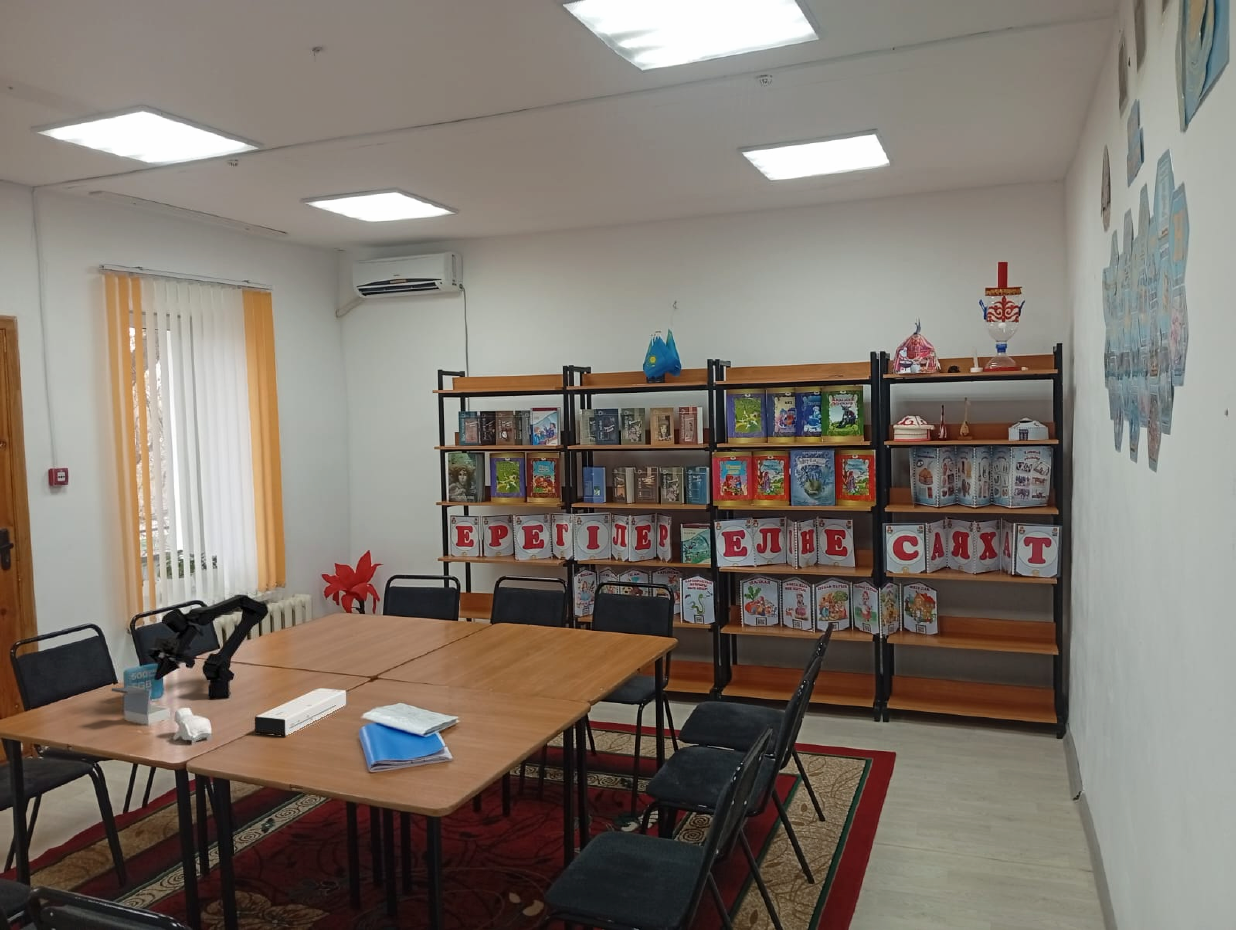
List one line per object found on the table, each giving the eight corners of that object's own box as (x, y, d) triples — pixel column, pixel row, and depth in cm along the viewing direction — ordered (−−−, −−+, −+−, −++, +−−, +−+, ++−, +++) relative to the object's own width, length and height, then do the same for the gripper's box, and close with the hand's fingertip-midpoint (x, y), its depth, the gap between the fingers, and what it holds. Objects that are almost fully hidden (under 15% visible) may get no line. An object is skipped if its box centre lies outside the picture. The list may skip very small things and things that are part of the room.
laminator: (284, 739, 286) (284, 719, 286) (251, 735, 290) (251, 716, 289) (346, 707, 319) (346, 690, 318) (316, 704, 322) (316, 687, 322)
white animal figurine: (212, 747, 287) (190, 721, 295) (217, 724, 284) (194, 699, 293) (186, 755, 280) (163, 728, 288) (190, 731, 278) (167, 705, 286)
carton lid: (127, 685, 305) (107, 687, 299) (151, 690, 300) (131, 692, 293) (124, 710, 304) (104, 712, 298) (148, 714, 299) (128, 717, 293)
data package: (129, 704, 322) (128, 671, 322) (123, 702, 325) (123, 669, 324) (163, 697, 331) (163, 664, 331) (158, 694, 334) (157, 662, 334)
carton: (146, 713, 311) (146, 703, 311) (170, 718, 306) (169, 708, 306) (124, 720, 304) (124, 710, 304) (148, 725, 299) (148, 714, 299)
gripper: (149, 625, 316) (121, 664, 306) (186, 630, 307) (158, 670, 298) (170, 642, 323) (143, 681, 314) (207, 647, 315) (180, 687, 305)
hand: (155, 679), depth 308 cm, fingers closed
